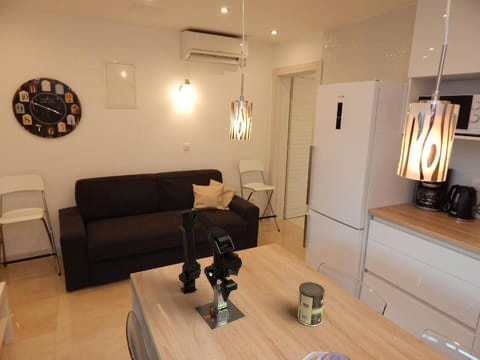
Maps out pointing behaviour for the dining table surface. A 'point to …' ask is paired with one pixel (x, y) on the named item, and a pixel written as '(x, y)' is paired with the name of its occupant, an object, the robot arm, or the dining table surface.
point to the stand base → (219, 314)
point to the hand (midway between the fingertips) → (220, 296)
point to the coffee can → (310, 304)
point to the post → (218, 297)
